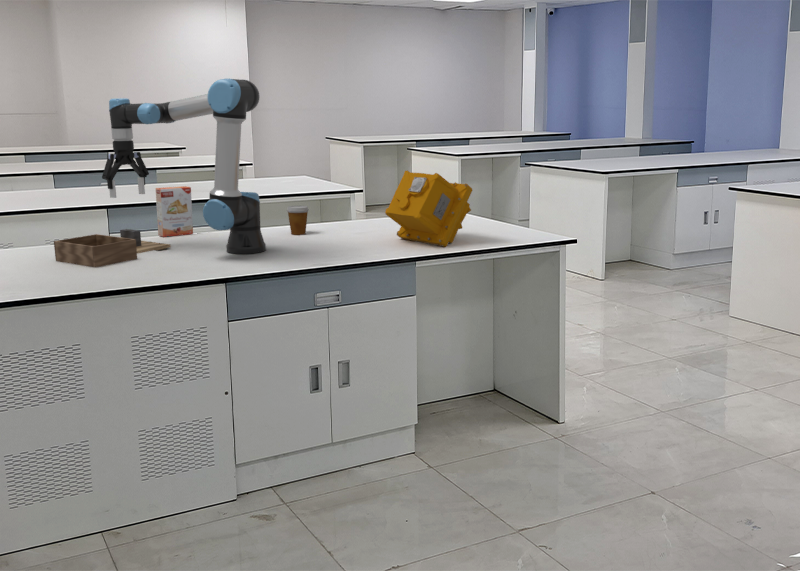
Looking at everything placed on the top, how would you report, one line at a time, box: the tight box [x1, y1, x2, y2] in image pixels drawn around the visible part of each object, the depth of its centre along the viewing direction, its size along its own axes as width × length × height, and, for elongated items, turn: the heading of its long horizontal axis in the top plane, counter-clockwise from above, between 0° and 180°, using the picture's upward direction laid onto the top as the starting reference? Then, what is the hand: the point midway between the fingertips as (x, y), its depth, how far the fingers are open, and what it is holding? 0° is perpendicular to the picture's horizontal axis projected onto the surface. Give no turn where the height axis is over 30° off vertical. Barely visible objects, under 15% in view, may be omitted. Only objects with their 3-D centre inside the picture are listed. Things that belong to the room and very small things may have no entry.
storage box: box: [53, 233, 138, 268], centre depth 281 cm, size 22×18×8 cm
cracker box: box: [155, 185, 194, 238], centre depth 338 cm, size 14×6×21 cm, turn 130°
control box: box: [384, 170, 473, 248], centre depth 319 cm, size 27×27×30 cm
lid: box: [119, 228, 171, 255], centre depth 305 cm, size 23×19×8 cm
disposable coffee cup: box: [286, 205, 309, 236], centre depth 341 cm, size 10×10×12 cm
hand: (127, 195), depth 301 cm, fingers open, 13 cm apart
